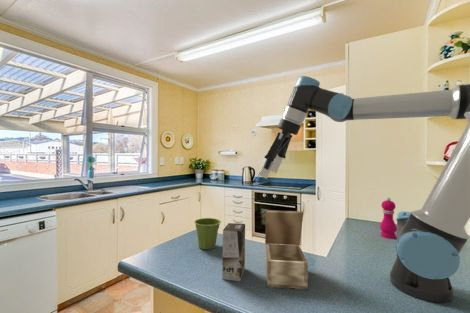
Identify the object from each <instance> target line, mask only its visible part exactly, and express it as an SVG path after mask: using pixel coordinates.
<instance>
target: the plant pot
mask: <svg viewBox="0 0 470 313" xmlns="http://www.w3.org/2000/svg"><path fill="white" fill-rule="evenodd" d="M193 223H194V224H195V229H196V235H197V241H198V248H199V249H201V250H212V249H214V248H215V247H216V244H217V240H218V239H217V238H218V233H219V228H220V225H221V223H222V221H221V220H220V219H218V218H212V217H203V218H197V219H195V220H194V222H193Z"/></svg>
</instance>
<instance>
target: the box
mask: <svg viewBox="0 0 470 313" xmlns="http://www.w3.org/2000/svg"><path fill="white" fill-rule="evenodd" d="M308 263H309V262H308V260H307V258H306V257H305V255H304V252H303V250H302V249H301V246H300V245H284V244H265V273H266V274H265V275H266V283H267V286H268V287H267V288H273V287H276V289H277V288H278V289H289V288H295V290H305V289H309V288H308V287H309V286H308V283H309V282H308V279H309V270H308V269H309V267H308V266H309V264H308Z"/></svg>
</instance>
